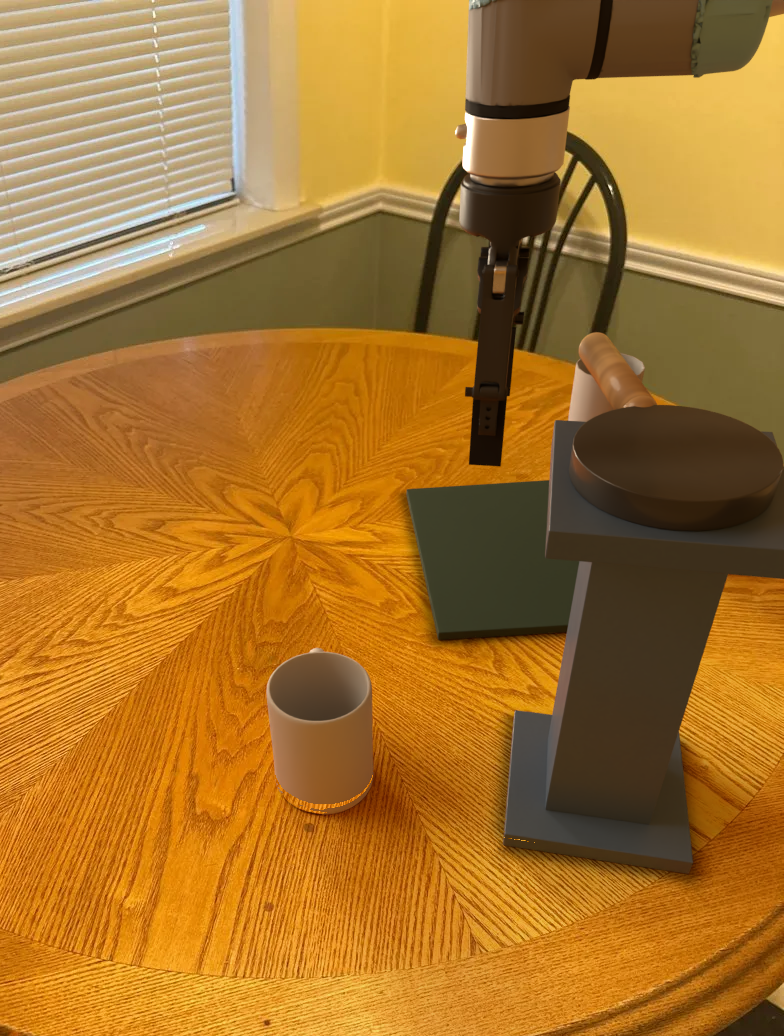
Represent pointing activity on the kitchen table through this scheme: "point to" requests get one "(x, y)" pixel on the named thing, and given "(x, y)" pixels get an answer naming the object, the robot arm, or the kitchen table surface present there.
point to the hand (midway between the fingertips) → (490, 427)
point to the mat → (490, 560)
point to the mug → (322, 728)
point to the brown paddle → (667, 456)
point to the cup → (594, 391)
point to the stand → (625, 677)
